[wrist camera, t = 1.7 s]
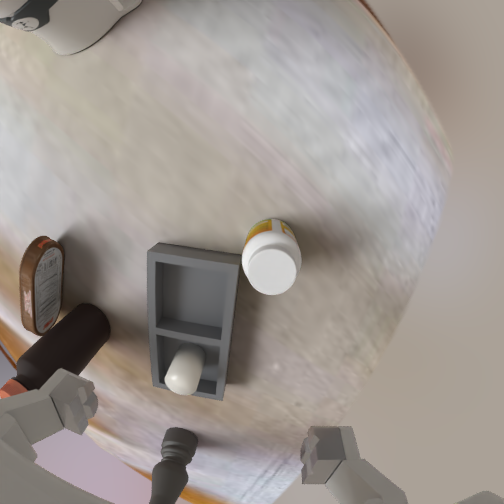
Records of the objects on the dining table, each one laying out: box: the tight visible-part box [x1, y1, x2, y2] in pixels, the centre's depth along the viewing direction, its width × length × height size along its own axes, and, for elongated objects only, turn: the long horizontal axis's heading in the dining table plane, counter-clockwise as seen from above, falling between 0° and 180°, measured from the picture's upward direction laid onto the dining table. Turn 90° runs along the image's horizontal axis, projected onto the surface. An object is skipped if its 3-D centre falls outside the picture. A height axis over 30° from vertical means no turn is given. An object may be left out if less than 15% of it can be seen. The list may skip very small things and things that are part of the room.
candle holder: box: [149, 428, 198, 504], centre depth 32 cm, size 6×6×25 cm
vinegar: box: [0, 304, 110, 399], centre depth 27 cm, size 7×7×20 cm
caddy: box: [147, 243, 242, 401], centre depth 34 cm, size 20×10×4 cm, turn 172°
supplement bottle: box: [242, 219, 302, 295], centre depth 27 cm, size 5×5×10 cm
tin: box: [19, 236, 64, 336], centre depth 31 cm, size 15×3×8 cm, turn 159°
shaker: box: [165, 343, 206, 395], centre depth 33 cm, size 4×4×6 cm
